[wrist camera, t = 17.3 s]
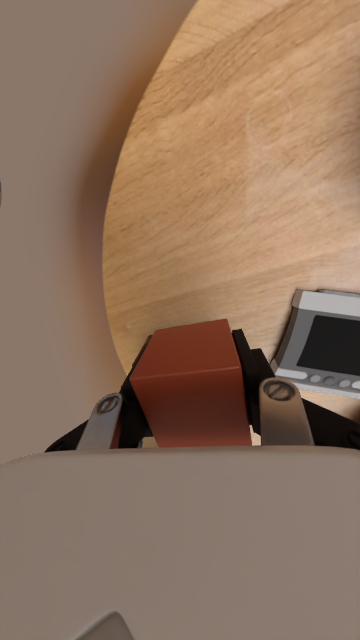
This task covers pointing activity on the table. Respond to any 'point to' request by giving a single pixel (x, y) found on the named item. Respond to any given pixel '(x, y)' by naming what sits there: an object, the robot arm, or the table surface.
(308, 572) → the robot arm
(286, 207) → the table surface
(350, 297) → the alarm clock
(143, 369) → the block
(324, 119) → the table surface
